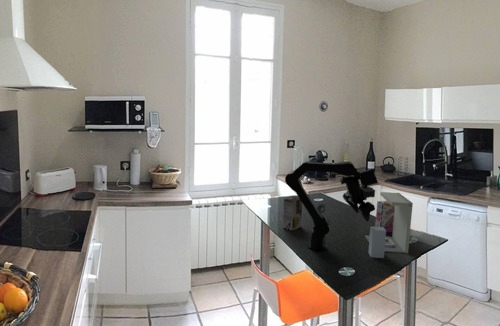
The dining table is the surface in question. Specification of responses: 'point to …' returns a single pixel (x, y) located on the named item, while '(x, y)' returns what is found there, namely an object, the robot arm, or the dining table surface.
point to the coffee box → (292, 213)
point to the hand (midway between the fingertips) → (362, 216)
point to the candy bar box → (385, 215)
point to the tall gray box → (377, 242)
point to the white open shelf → (398, 223)
